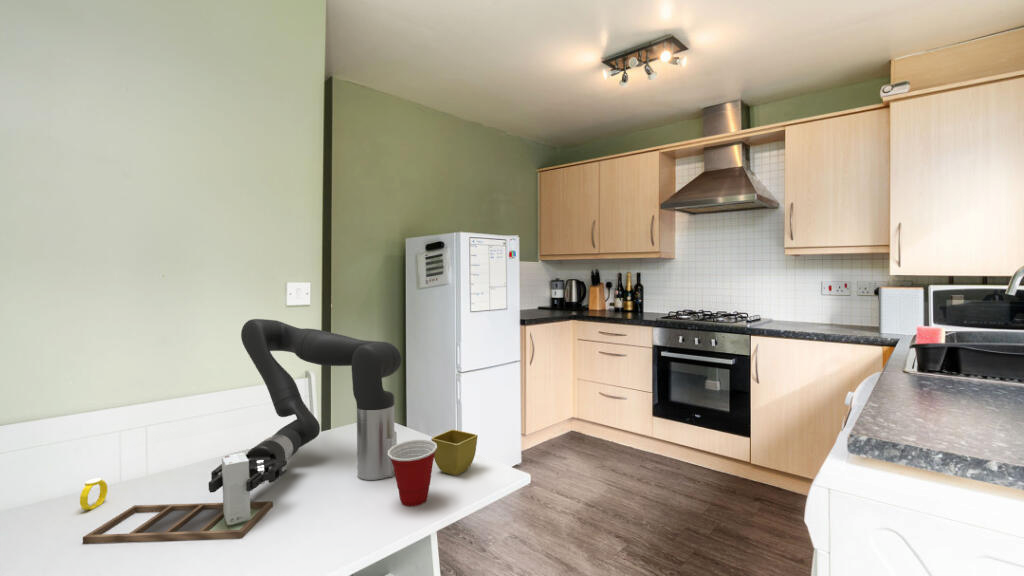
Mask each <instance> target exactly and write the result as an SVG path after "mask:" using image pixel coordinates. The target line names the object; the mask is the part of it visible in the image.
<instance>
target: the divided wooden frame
mask: <svg viewBox="0 0 1024 576" xmlns="http://www.w3.org/2000/svg"><path fill="white" fill-rule="evenodd" d="M273 507H274V501H270V500H269V501H265V500H263V501H250V520H247V521H244V522H240V523H236V524H232V525H227V523H226V520H225V516H224V511H223V502H209V503H207V502H204V503H203V502H202V503H199V502H198V503H174V504H171V503H170V504H144V505H143V504H141V505H139V504H138V505H135V504H134V505H132V506H131V507H129V508H128V509H126V510H125V511H123V512H122V513H120V514H118V515H116V516H115V517H113V518H112V519H110V520H109V521H107V522H105V523H103V524H101V526H99V527H96V529H94V530H92V531H90V532H89V533H87V534H86V535H84V536H82V545H83V544H85V545H86V544H108V543H109V544H110V543H139V542H140V543H141V542H165V541H166V542H169V541H170V542H171V541H195V540H196V541H197V540H198V541H199V540H201V541H203V540H225V539H227V540H229V539H243V538H244V537H245V535H246V534H248V532H250V530H251V529H253V528H254V527H255V526H256V524H258V522H259V521H260V520H261V519H262V518H263V517H264V516H265V515H266V514H268V513H269V511H270V510H271V509H272V508H273ZM136 513H138V514H139V513H157V514H155V515H154V516H152V517H151V518H149V519H148V520H147V521H145V522H144V523H142V524H140V525H139V526H138V527H136V528H135V529H133V530H132V531H130V532H129V533H107V534H106V532H107V531H109V530H110V529H112V528H114V527H115V526H117V525H118V524H120V523H122V522H123V521H125V520H126V519H128V518H130V517H131V516H132V515H134V514H136Z"/></svg>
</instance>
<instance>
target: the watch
mask: <svg viewBox="0 0 1024 576" xmlns="http://www.w3.org/2000/svg"><path fill="white" fill-rule="evenodd" d="M97 485H98V486H99V495H98V498H97V499H96V501H95V503H93V504H91V505H90V504H89V502H88V501H89V494H90V491H91V490H92V488H93V487H94V486H97ZM107 494H108V484H107V482H106V481H105V480H103V478H102V477H96V478H91V479H88V480H86V481H85V482H84V488H83V489H82V491H81V493H80V497H79V505H80V507H81V508H82V509H83V510H84V511H92V510H95V509H96V508H97V507H99V506H101V505H102V504H104V502H105V500H106V497H107Z"/></svg>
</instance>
